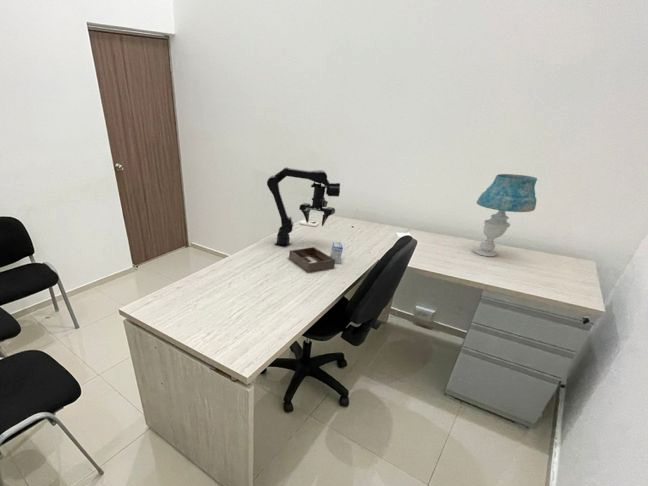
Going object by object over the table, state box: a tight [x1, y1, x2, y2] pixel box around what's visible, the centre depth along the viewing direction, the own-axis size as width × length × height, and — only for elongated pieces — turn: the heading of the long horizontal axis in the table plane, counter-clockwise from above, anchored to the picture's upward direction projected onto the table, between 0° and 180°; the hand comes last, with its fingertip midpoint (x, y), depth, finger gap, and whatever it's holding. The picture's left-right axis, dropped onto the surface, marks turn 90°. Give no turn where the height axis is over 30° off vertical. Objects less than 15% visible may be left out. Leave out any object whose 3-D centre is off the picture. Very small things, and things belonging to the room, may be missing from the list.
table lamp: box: [473, 173, 538, 257], centre depth 169 cm, size 24×24×40 cm
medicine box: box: [330, 241, 344, 264], centre depth 170 cm, size 8×4×9 cm, turn 169°
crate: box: [288, 246, 336, 273], centre depth 167 cm, size 19×15×4 cm
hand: (314, 224), depth 183 cm, fingers open, 9 cm apart
